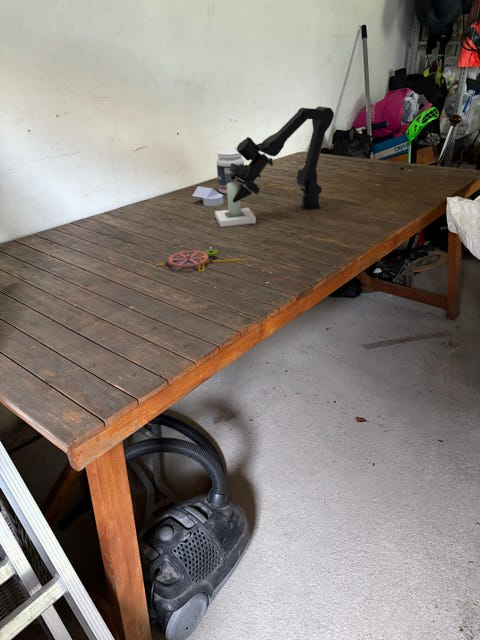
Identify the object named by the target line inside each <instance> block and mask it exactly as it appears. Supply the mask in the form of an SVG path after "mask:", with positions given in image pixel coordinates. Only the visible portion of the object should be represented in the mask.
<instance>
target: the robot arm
mask: <svg viewBox="0 0 480 640" xmlns="http://www.w3.org/2000/svg"><path fill="white" fill-rule="evenodd" d="M334 117H335V113H334V110H333V109H332V108H331V107H327V106H320V105H319V106H317V107H315V108H312V107H311V108H307V107H300V108H299V109H298V110H297V112H296V113H295V114H294V115H293V116H292V117H291V118H290V119H289V120H288V121H287V122H286V123H284V125H283V126H282V127H281V128H280V129H279V130H278V131H277V132H275V133H273V134H271V135H270V136H268V137H267V138H265V139H263V141H262V142H260V143H257V144H256V143H255V142H254V141H253V138H251V137H249V136H247V137H246V138H245V139H243V140H242V141H241V142H239V144H238V145H237V147H236V150H237V152H239V153H240V154H241V155H242V156H241V157H242V158H243V159H245V160H246V161H250V162H249V163H248V164H244V165H242V164H239V165H236V164H234V163H231V166H230V169H229V171H231V173H230V175H229V177H230V178H231V181H232V182H239V190H238V192H237V194H236V195H235V197H234V199H233V202H234V203H235V202H237V201H239V200H240V201H241V200H242V199H244V198H246V197H249V196H250V195H253V194H254V195H255V196H257V195H258V194H259V193H260V191H261V190H260V189H261V188H260V186H258V185H257V184H256V183H255V182H256V180H257V178H258V179H259V178H261V176H262V175H261V173H262V172H263V170H264V169H265V168H266V167H267V165H268V166H271V167H273V165H274V162H273V158H271V157H277V155H279V154H280V153H281V151H282V150H283V149H284V146H285V143H286V142H287V141H288V139H290V138H291V136H293V135H294V133H296V131H298V129H299V128H300V127H302V125H304V123H305V122H306V121H307V120H311V122H312V123H311V125H312V134H311V138H310V142H309V146H308V150H307V151H308V152H307V156H306V158H305V163H304V166H303V167H302V169H297V176H296V178H295V179H296V184H297V186H298V187H299V188H300V191H301V192H302V195H301V198H300V200H301V201H300V203H301V204H300V205H301V207H303V208H304V209H305V210H312V209H319V208H321V205H319V204H320V194H322V192H323V191H322V190H323V188H322V187H321V186H320V185H319V184H318V171H317V167H318V164H319V163H318V162H319V158H320V156H321V155H320V154H321V151H322V147H323V144H324V143H323V142H324V140H325V134H326V132H327V131H328V130H329V128H330V126H331V125H332V123H333V120H334ZM261 153H262V154H261ZM268 156H270V157H268Z"/></svg>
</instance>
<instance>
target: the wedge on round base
mask: <svg viewBox="0 0 480 640" xmlns="http://www.w3.org/2000/svg"><path fill="white" fill-rule="evenodd" d="M192 197H197V198H202V202H203V206H205V207H218V206H222V205H223V204H224V195H223V193H220V192H219V191H217V190H215V189H214V188H212V187H207V186H201V185H200V186H197V187H196V189H195V190H194V192H193V194H192Z"/></svg>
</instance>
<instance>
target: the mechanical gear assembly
mask: <svg viewBox="0 0 480 640" xmlns="http://www.w3.org/2000/svg"><path fill="white" fill-rule="evenodd" d="M185 254H187V255H185ZM190 254H191V255H190ZM198 254H199V256H198V257H196V255H198ZM218 254H219V251H218V250H217V249H213V247H212V246H209V249H205V250H204V251H202V250H201V251H200V250H194V249H193V250H183V251H178V252H176V253H173V254H172V255H170V256H169V257H168V261H167V260H165V262H164V263H155V266H156V267H162V266H163V267H169V266H173V267H176V268H186V269H187V268H193V267H197V266H198V272H199V273H203V272H205V267H206V266H205V265H206V264H215V263H228V262H229V263H230V262H245V261H246V262H247V261H248V258H239V259H238V258H237V259H223V260H222V259H219V260H218V259H217V260H213V258H210V256H211V257H213V256H216V255H218ZM177 256H181V258H175V257H177ZM174 261H178V262H174ZM201 266H202V269H201Z"/></svg>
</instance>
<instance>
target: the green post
mask: <svg viewBox="0 0 480 640" xmlns="http://www.w3.org/2000/svg"><path fill="white" fill-rule="evenodd" d="M238 190H239V182H230V183H227V196H226V197H227V208H228V209H227V210H228V212H229V217H230V218H232V217H241V208H242V206H241V205H242V204H241V203H242V202H241V200H239V201H237V202H235V203H234V202H233V199H234V197H235V195H236V194H237V192H238Z"/></svg>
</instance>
